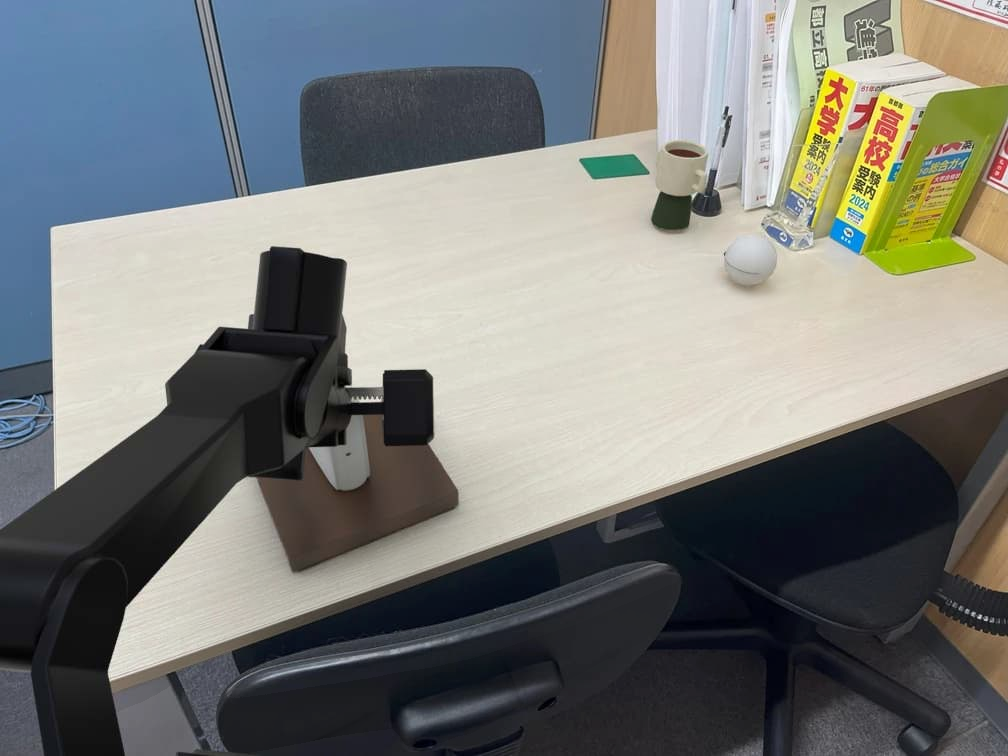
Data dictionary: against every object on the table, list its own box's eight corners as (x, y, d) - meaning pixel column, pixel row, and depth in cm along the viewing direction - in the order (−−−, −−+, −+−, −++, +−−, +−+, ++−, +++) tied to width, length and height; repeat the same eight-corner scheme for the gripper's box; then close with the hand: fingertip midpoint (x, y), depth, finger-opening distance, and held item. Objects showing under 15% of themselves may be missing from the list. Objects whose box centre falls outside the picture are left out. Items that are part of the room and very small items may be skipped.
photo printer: (377, 481, 71) (365, 389, 63) (336, 499, 69) (318, 406, 61) (335, 419, 77) (319, 328, 69) (297, 434, 75) (276, 342, 67)
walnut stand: (292, 574, 65) (288, 558, 64) (251, 465, 75) (246, 449, 73) (459, 506, 72) (458, 490, 70) (401, 414, 81) (399, 398, 80)
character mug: (708, 234, 115) (727, 158, 106) (674, 245, 112) (691, 167, 104) (664, 206, 122) (679, 132, 113) (631, 215, 119) (644, 140, 110)
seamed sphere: (749, 264, 109) (762, 221, 104) (779, 290, 103) (795, 246, 99) (693, 275, 106) (704, 231, 101) (722, 302, 100) (734, 258, 96)
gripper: (428, 294, 52) (434, 324, 67) (164, 297, 50) (232, 327, 66) (431, 447, 51) (436, 442, 66) (163, 455, 50) (232, 448, 65)
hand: (335, 412), depth 66 cm, fingers open, 9 cm apart
